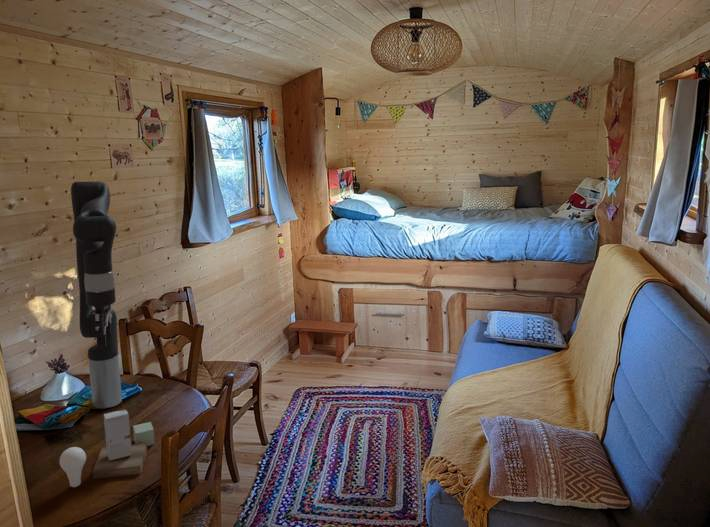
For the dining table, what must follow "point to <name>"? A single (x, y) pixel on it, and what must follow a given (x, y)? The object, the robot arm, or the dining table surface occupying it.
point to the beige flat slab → (120, 463)
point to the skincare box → (117, 434)
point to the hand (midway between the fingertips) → (104, 341)
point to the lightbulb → (73, 464)
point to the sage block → (144, 433)
